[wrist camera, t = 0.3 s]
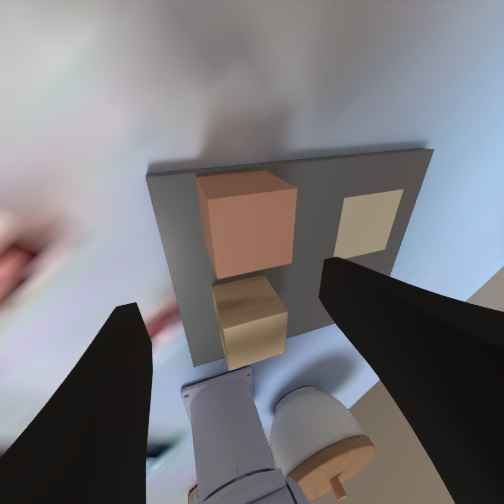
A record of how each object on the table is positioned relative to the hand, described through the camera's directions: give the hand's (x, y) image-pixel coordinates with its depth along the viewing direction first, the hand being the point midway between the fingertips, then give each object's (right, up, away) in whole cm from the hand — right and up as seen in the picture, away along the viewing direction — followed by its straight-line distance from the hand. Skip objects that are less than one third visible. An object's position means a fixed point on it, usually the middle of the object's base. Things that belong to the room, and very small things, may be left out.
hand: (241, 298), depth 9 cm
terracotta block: (-1, +5, +7) cm, 8 cm away
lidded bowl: (+7, -21, +27) cm, 35 cm away
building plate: (+5, +1, +13) cm, 14 cm away
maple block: (-1, -2, +11) cm, 12 cm away
